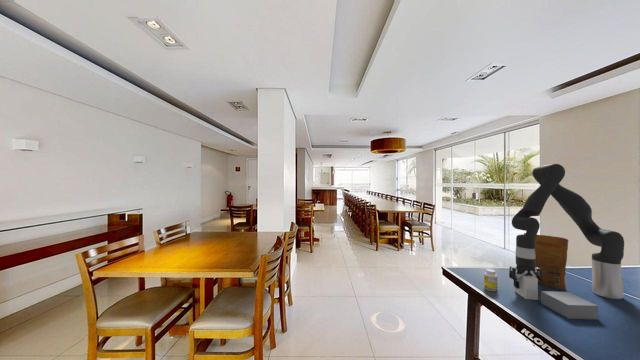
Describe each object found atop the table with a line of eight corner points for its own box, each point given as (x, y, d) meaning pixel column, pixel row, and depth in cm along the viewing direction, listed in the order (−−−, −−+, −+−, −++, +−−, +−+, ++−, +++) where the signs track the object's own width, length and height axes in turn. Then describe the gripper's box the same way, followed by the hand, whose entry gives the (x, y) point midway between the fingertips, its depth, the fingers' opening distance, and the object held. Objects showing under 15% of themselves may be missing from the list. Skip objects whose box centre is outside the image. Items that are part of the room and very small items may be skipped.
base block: (567, 304, 105) (567, 291, 105) (598, 320, 93) (598, 305, 93) (541, 303, 106) (541, 291, 106) (568, 319, 94) (568, 304, 94)
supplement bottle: (484, 286, 123) (484, 267, 123) (497, 289, 120) (497, 270, 120) (484, 289, 119) (483, 270, 119) (497, 292, 115) (497, 273, 116)
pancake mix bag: (566, 293, 116) (566, 239, 116) (520, 279, 133) (520, 231, 133) (571, 290, 119) (570, 237, 119) (526, 276, 136) (525, 230, 136)
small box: (538, 300, 108) (538, 278, 108) (525, 299, 109) (524, 277, 109) (526, 292, 116) (526, 272, 116) (514, 291, 117) (514, 271, 117)
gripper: (533, 254, 116) (533, 285, 116) (505, 253, 117) (505, 284, 117) (547, 258, 109) (547, 292, 109) (516, 258, 110) (517, 291, 109)
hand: (525, 288), depth 113 cm, fingers open, 8 cm apart
